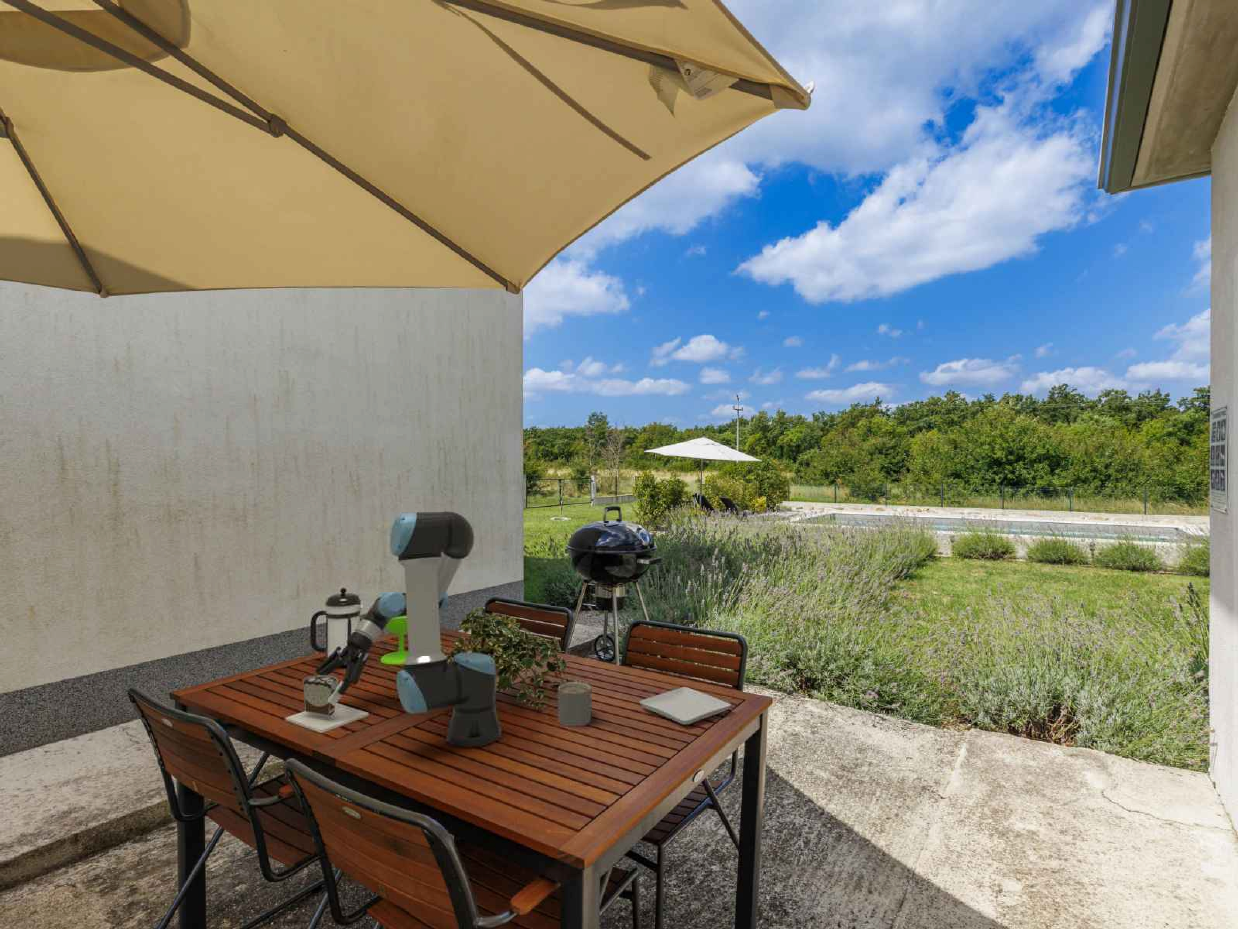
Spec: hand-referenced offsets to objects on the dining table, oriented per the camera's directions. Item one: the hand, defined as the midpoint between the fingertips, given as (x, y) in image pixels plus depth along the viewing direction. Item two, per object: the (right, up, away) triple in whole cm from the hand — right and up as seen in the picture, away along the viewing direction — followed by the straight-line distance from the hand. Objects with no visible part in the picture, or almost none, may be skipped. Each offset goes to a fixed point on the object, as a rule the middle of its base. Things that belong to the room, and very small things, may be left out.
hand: (319, 699), depth 198 cm
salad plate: (+112, -7, +9) cm, 112 cm away
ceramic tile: (+1, -6, +2) cm, 7 cm away
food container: (+1, -4, +2) cm, 5 cm away
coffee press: (-18, -7, +56) cm, 59 cm away
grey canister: (+78, -7, +2) cm, 79 cm away
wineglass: (+3, -7, +65) cm, 66 cm away
